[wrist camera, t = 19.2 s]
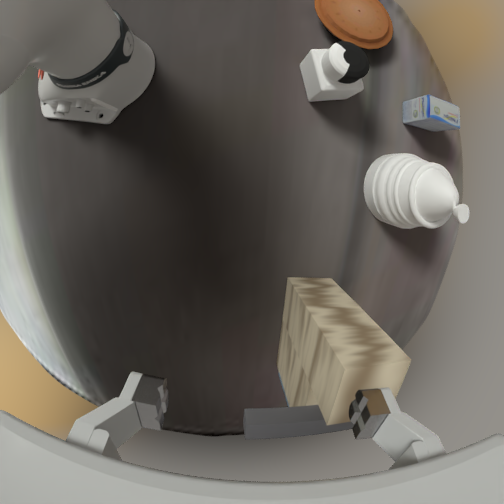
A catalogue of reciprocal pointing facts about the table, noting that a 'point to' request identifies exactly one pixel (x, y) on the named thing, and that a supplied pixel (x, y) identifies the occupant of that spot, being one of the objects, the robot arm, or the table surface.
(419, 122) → the medicine box
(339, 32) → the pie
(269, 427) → the dark gray bar
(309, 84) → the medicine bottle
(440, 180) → the honey pot
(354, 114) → the table surface
